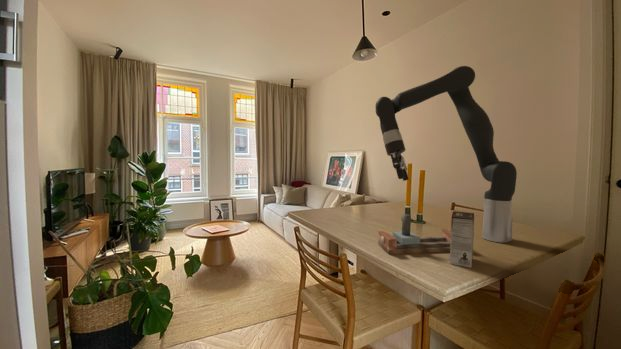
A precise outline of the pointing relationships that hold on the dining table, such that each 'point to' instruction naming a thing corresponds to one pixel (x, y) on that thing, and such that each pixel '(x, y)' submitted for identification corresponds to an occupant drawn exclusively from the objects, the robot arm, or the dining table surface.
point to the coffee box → (462, 239)
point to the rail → (425, 246)
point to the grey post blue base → (406, 232)
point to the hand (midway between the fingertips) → (403, 179)
